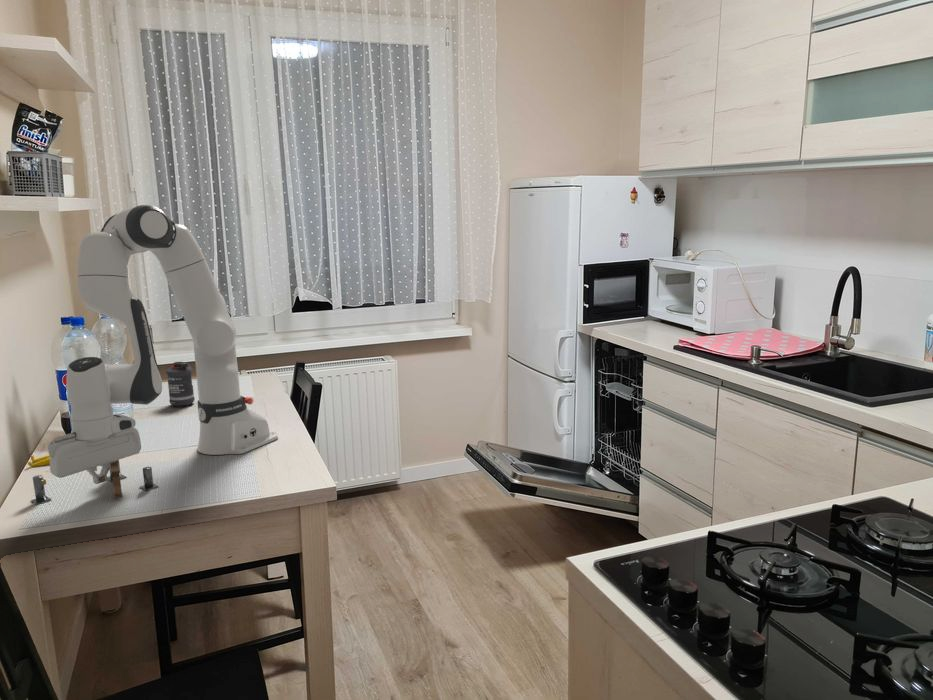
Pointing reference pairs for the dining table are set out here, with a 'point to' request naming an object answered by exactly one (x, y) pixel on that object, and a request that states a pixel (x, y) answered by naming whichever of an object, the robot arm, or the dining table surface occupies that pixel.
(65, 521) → the dining table surface
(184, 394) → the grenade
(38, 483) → the latch stile
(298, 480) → the dining table surface
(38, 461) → the figurine
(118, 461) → the hinge post
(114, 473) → the gate
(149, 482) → the post
